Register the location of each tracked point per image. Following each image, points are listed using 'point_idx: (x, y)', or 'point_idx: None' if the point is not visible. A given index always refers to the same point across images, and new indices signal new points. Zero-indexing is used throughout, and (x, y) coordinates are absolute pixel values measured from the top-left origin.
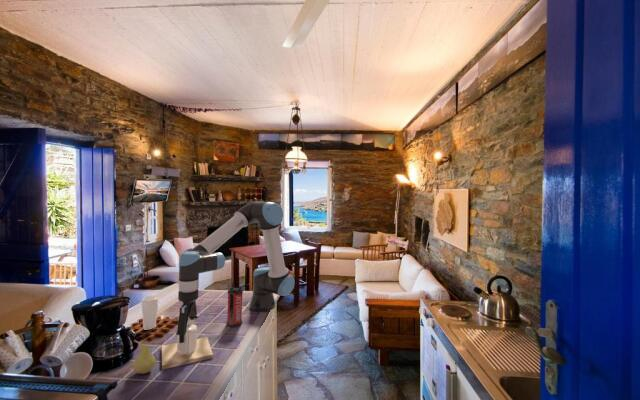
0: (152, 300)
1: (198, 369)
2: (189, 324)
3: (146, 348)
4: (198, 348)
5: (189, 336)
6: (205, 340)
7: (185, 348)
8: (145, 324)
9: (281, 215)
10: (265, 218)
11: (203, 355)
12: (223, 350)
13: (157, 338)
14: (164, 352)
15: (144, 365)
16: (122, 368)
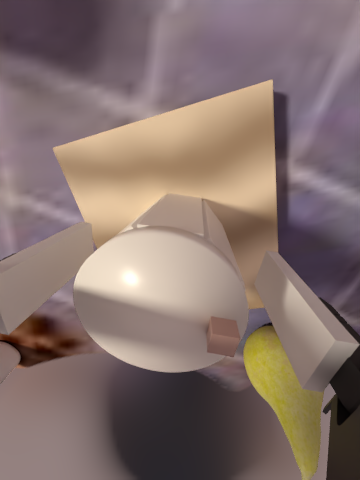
0: None
1: (347, 160)
2: (43, 292)
3: (318, 440)
4: (177, 182)
5: (237, 268)
6: (92, 152)
7: (280, 257)
8: (1, 381)
9: None
10: None
11: (264, 144)
12: (191, 14)
13: (62, 328)
14: None
15: None
16: (222, 375)
